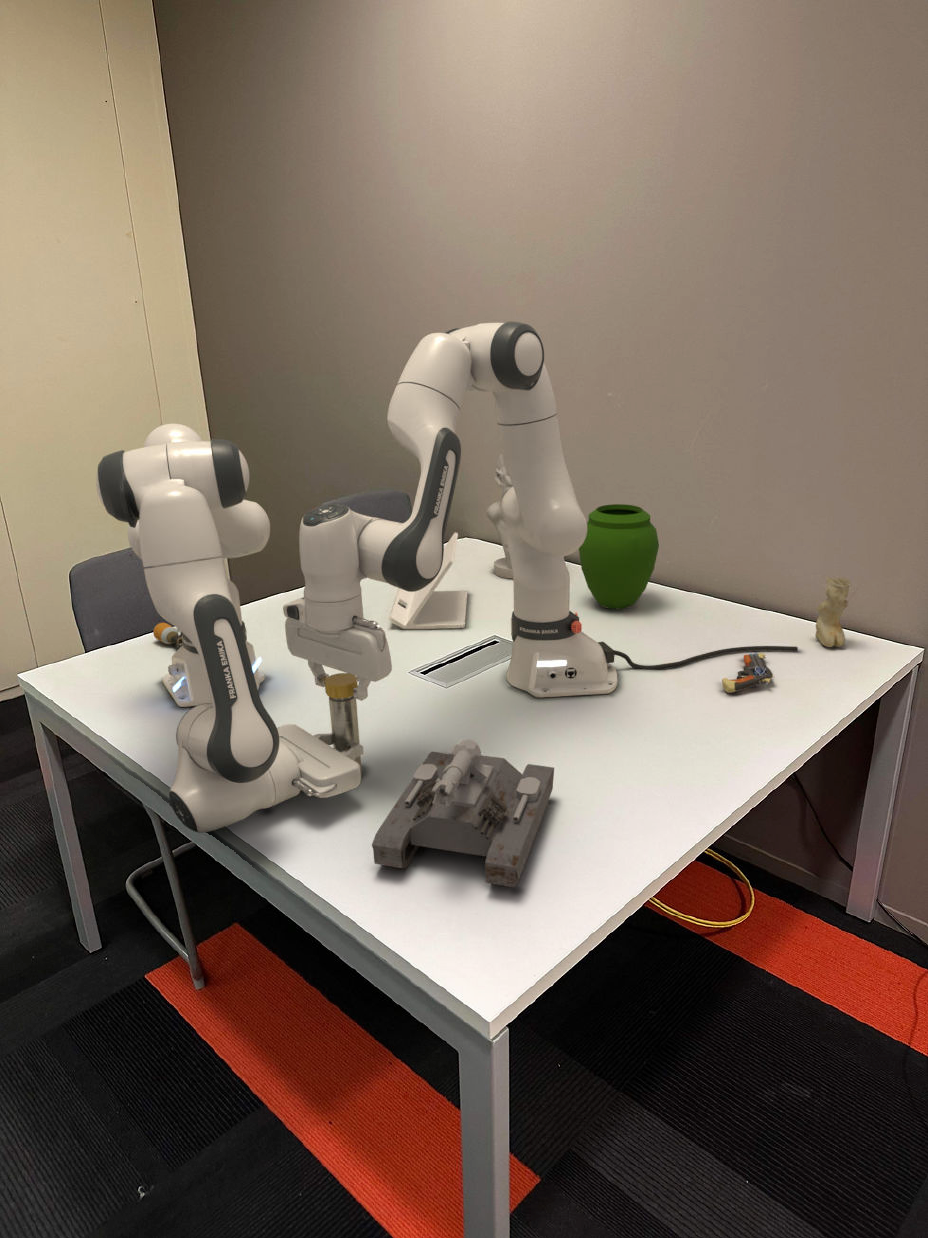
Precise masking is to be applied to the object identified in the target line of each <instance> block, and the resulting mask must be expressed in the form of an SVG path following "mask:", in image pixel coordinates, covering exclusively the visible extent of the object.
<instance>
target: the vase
mask: <svg viewBox="0 0 928 1238" xmlns="http://www.w3.org/2000/svg"><path fill="white" fill-rule="evenodd" d="M587 516H588V517H587V518H588V521H586V522H587V535H586V538H585V540H584V542H583V544H582V545H581V547H580V548H579V549H578V554H579V562H580V569H581V571H582V574H583V577H584V580H585V583H586V585H587V588H588V590H589V591H590V594H592V597H593V598H594V600H595V601H596V602H597V603H598V604H599V605H600V606H602V607H604V608H606V609H609V610H625V609H628V608H630V607H632V606H634V604H636V602H638V601H639V599H640V597H641V596H642V595H643V593H644V592H645V590H646V588H647V586H648V584H649V581H650V579H651V577H652V574H653V572H654V570H655V566H656V562H657V557H658V552H659V548H660V544H659V543H660V542H659V537H658V531H657V528H656V527H655V526H654V524H653V523H652V522H651V515H650V514H649V512H647V511H645V510H644V509H643V508H642V507H641V506H638V505H633V504H622V503H621V504H619V503H616V504H615V503H614V504H604V505H601V506H598V507H597V508H595V509H594V510H592V511H591V512H590V513H589V514H588V515H587Z"/></svg>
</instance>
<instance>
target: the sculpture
mask: <svg viewBox="0 0 928 1238" xmlns="http://www.w3.org/2000/svg"><path fill="white" fill-rule="evenodd" d="M826 581H827V586H826V588H825V590H824V593H825V595H826V596H827V598H826V600H824V601H822V602H821V603H820V604H819V605H818V606H817V609H816V610H817V612H818V614H819V616H818V617H817V619H816V623H815V630H816V631H815V634H814V635H815V639H817V640H819V642H820V643H821V644H822V645H823V646H825V647H827V648H832V647H834V646H835V647H843V646H844V645H845V643H846V642H845V641H846V636H845V632H844V630H843V626H842V624H841V622H840V621H841V617H842V615H843V612H844V610H845V609H846V608H847V606H848V604H849V603H848V602H849V601H847V598H848V597H849V592H850V586H851V585H852V582H850V580H848V579H847V578H845V577H841V576H840V577H835V578H831V577H827V578H826Z"/></svg>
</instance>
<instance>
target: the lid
mask: <svg viewBox="0 0 928 1238" xmlns="http://www.w3.org/2000/svg"><path fill="white" fill-rule="evenodd" d="M358 685H359V683H358V681H357V679H356V676H355V675H352V674H349V673H346V672H339V673H334V674H331V675H329V677H327V678H326V680H325V687H324V690H325V694H326V696H327V697H328V698H329V697H331V698H347V697H351V696H353V695H354V693H353V689H354V688H356V687H358Z"/></svg>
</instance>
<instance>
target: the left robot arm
mask: <svg viewBox="0 0 928 1238" xmlns="http://www.w3.org/2000/svg"><path fill="white" fill-rule="evenodd" d="M249 485H250V469H249V465H248V463H247V459H246V458H245V456H244V454H243V453H242V451H241V450H240V447H239V445H237V444H235V443H234V442H232V441H231V440H227V439H220V438H211V439H210V440H203V439H202V438H201V436H200V435H199V434H198V433H197V432H196V431H195V430H194V429H192V427H191V428H190V427H189V426H187V425H184V424H181V423H165V424H162V425H160V426H158V427H156V428H154V429H153V430H152V431H150V433H149V434H148V435H147V437H146V439H145V440H144V443H143V447H139V448H135V449H131V450H127V451H125V450H124V449H121V450H117V451H115V452H111V453H108V454H106V455H104V456H103V457H102V459H101V460H100V462H99V463H98V464H97V472H96V477H95V487H96V492H97V495H98V498H99V500H100V503H102V505H103V506H104V508H105V511H106V512H107V513H108V515H109V516H111V517H112V518H114V519H115V520H117V521H119V522H123V523H128V527H127V540H128V543H129V546H130V548H131V550H132V551H133V553H134V555H136V556H137V557H138V558H139V560H141V561H142V567H143V572H144V573H143V574H144V579H145V583H146V588H147V590H148V593H149V596H150V599H151V602H152V604H153V606H154V608H155V611H156V612H157V613H158V615H160V617H161V618H162V619H163V620H165V621H166V622H167V623H168V624H170V625H171V626H173V627H174V628H175V629H177V630H179V631H180V633H181V632H182V633H183V635H182V644H181V645H182V646H180V647H179V649H177V650H176V651H175V652H174V653H173V654H172V656H171V664H169V665H168V666H167V670H168V673H167V674H166V675H164V676H163V677H162V684H163V685H164V687H165V689H166V690H167V691H168V693H169V694H170V696H171V697H172V699H173V700H174V702H175V703H176V704H177V706H178V707H179V708H187V707H191V708H190V709H189V710H187V711H186V712H185V713H184V715H183V716H182V717H181V719H180V721H179V723H178V725H177V728H176V735H175V736H176V737H175V738H176V744H177V766H176V773H175V777H174V781H173V783H172V785H171V787H170V789H169V793H168V794H169V795H168V797H169V803H170V804H171V808H172V810H173V812H174V814H175V815H176V817H177V818H178V820H179V821H180V822H181V823H182V825H183V826H184V827H186V828H187V829H189V830H190V831H192V832H195V833H197V834H203V833H204V834H205V833H209V832H213V831H217V830H219V829H222V828H225V827H227V826H229V825H233V824H235V823H237V822H239V821H242V820H244V819H246V818H248V817H249V816H250V815H251V814H253V813H254V812H256V811H259V810H263V809H269V808H271V807H274V806H276V805H278V804H281V803H282V802H283V803H284V802H285V801H287V800H290V799H292V798H294V797H296V796H298V795H299V794H300V792H301V791H302V792H303V793H304V794H305V795H306V796H308V797H312V796H315V797H317V798H320V799H326V798H330V797H331V798H332V797H334V796H338V795H341V794H343V793H346V792H348V791H351V790H353V789H356V788H358V787H359V786H360V784H361V782H362V773H361V771H360V765H359V764H358V763H357V762H355V761H354V760H355V758H357V757H359V756H361V757H362V756H363V755H364V753H365V752H364V751H365V750H364V745H362V744H361V743H360V744H358V743H354V744H352V745H349V750H348V751H347V752H345V751H343V752H341V753H340V752H339V751H337V750H336V749H334V748H333V738H332V732H330V733H329V732H328V733H316V734H312V733H310V732H308V731H306V730H305V729H304V728H302V727H300V726H299V725H296V724H292V723H291V724H289V723H288V724H283V725H280V726H277V725H276V723H275V721H274V720H273V718H272V717H271V715H270V714H269V712H268V711H267V709H266V707H265V706H264V703H263V701H262V698H261V695H260V693H259V689H260V685H261V684H262V683H263V682H264V681H265V680H266V676H265V673H264V672H261V671H259V665H260V664H261V663H262V657H261V656H259V657H258V658H257V657H256V652H255V648H254V645H253V644H252V643H251V642H249V641H248V637H247V627H246V624H245V622H244V621H243V617H242V616H243V615H242V609H241V601H240V592H239V589H238V587H237V585H236V584H235V583H234V582H233V580H231V579H229V578H228V577H227V572H226V567H225V561H224V559H225V560H226V559H235V558H240V557H246V556H249V555H253V554H256V553H260V552H262V551H263V550H264V549H265V547H266V546H267V544H268V542H269V539H270V535H271V522H270V518H269V516H268V514H267V512H266V510H265V509H264V508H263V507H262V506H261V505H260V504H259V503H257V502H255V501H251V500H247V499H246V497H247V495H248V494H247V492H248V488H249Z"/></svg>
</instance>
